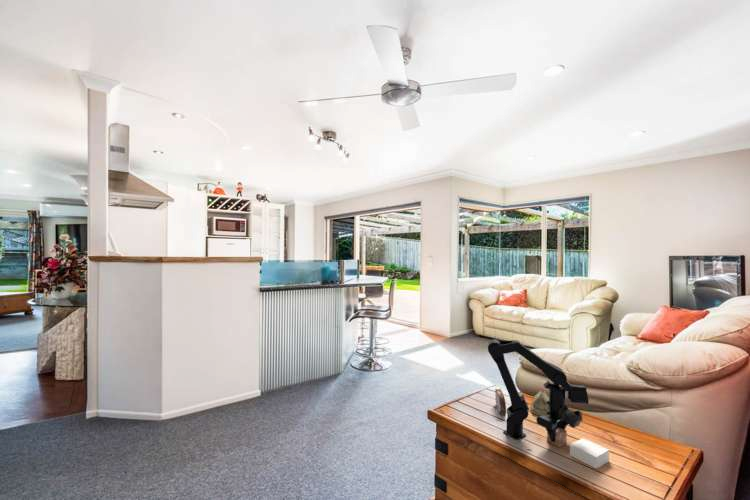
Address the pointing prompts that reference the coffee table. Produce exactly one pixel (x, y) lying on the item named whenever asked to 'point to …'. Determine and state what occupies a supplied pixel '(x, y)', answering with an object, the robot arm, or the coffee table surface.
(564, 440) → the terracotta cube
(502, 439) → the coffee table surface
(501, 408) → the mottled stone slab
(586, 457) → the base block
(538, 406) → the ceramic model
